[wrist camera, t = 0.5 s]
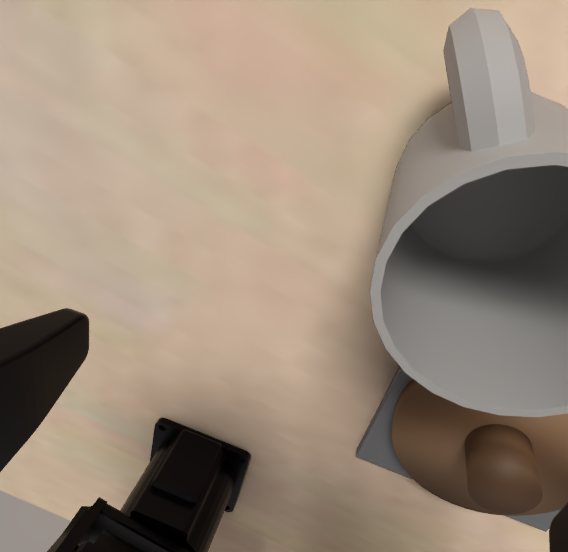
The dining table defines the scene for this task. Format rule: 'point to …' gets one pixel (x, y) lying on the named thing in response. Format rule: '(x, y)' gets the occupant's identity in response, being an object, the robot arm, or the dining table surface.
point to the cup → (481, 236)
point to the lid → (482, 454)
